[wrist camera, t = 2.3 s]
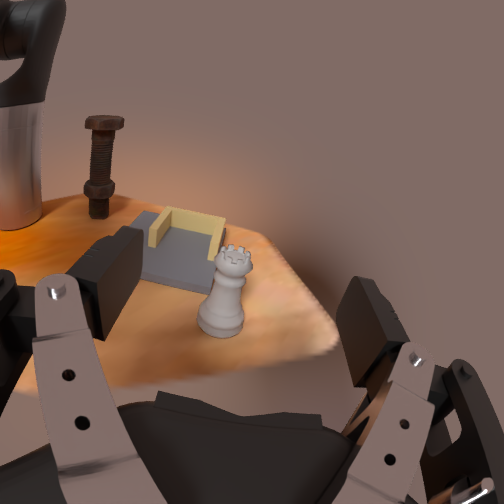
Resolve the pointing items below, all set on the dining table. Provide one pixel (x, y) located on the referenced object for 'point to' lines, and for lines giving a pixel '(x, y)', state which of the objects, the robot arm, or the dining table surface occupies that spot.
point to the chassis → (180, 247)
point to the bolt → (101, 163)
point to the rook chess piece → (225, 294)
